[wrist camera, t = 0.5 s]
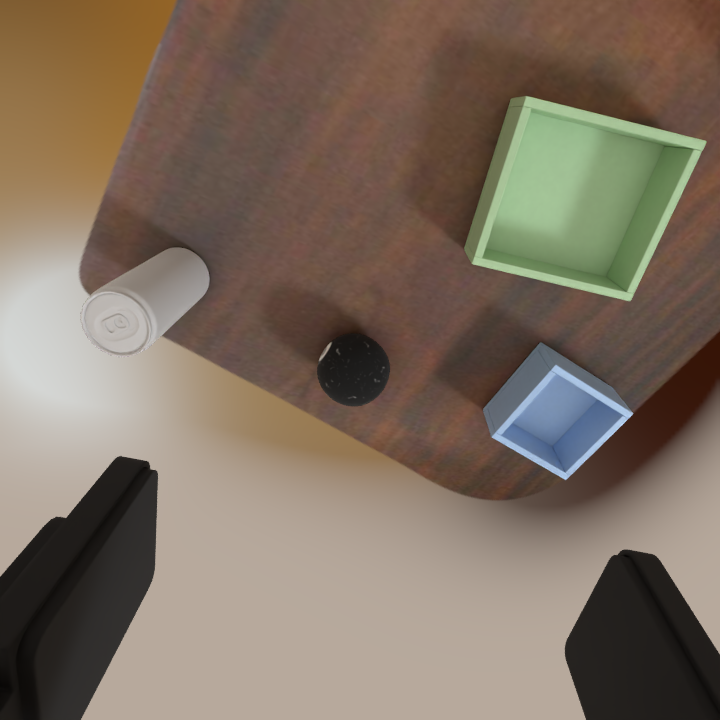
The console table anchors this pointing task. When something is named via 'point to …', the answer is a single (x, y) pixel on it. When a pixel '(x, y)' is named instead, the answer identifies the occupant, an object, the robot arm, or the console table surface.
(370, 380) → the billiard ball
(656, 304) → the console table surface
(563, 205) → the ball bin
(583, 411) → the bin
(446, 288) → the console table surface
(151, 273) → the beverage can
